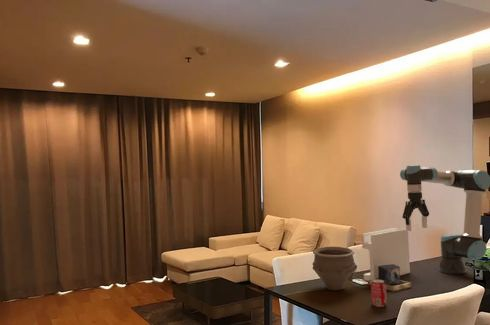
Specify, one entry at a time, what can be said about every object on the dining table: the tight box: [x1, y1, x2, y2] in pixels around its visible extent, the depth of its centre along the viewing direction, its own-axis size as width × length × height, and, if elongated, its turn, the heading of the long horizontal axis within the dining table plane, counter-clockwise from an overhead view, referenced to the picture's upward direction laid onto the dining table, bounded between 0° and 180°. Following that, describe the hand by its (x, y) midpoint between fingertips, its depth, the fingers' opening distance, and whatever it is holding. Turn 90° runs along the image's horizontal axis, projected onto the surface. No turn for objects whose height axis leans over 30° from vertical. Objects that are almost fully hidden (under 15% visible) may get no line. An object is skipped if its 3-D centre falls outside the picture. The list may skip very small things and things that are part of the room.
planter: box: [311, 246, 358, 291], centre depth 230 cm, size 25×24×22 cm
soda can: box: [370, 279, 388, 308], centre depth 199 cm, size 7×7×12 cm
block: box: [361, 227, 411, 282], centre depth 252 cm, size 35×8×28 cm, turn 124°
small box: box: [378, 264, 401, 286], centre depth 231 cm, size 11×6×10 cm, turn 106°
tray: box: [368, 278, 412, 293], centre depth 231 cm, size 14×18×2 cm
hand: (416, 229), depth 230 cm, fingers open, 13 cm apart
